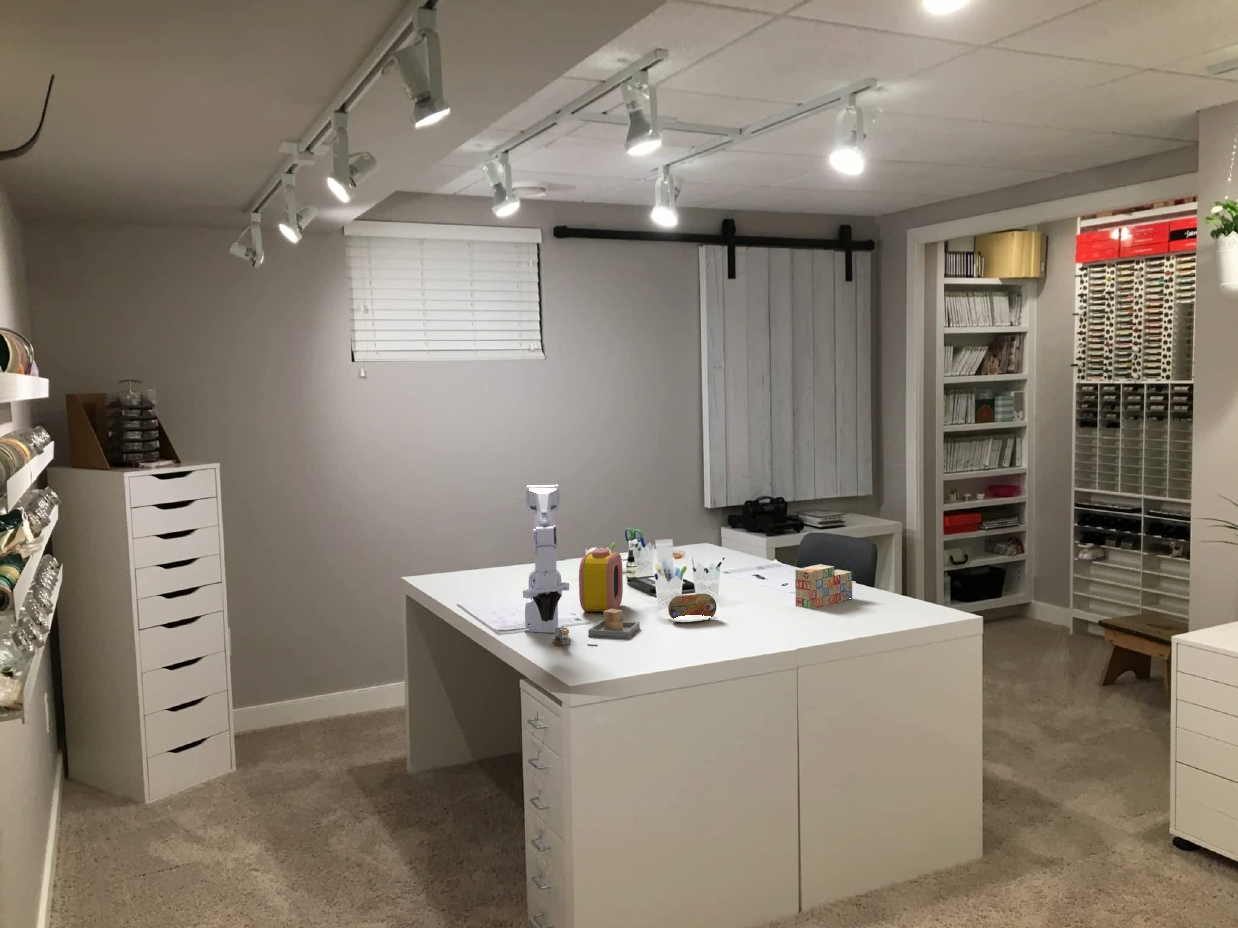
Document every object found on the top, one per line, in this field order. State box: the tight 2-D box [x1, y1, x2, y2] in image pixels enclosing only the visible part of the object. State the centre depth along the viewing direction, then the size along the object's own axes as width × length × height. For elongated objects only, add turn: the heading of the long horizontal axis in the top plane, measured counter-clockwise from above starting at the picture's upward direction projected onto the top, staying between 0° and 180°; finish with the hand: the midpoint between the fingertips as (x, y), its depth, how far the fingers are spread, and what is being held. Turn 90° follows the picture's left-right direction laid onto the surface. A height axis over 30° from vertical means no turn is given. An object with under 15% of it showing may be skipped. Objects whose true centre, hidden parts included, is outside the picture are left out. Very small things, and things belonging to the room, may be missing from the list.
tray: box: [587, 619, 641, 640], centre depth 295 cm, size 12×12×2 cm
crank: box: [554, 626, 570, 645], centre depth 281 cm, size 9×4×4 cm, turn 13°
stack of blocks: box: [794, 563, 853, 610], centre depth 329 cm, size 21×6×12 cm, turn 129°
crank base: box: [552, 637, 598, 647], centre depth 283 cm, size 13×5×1 cm, turn 73°
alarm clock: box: [578, 547, 624, 613], centre depth 325 cm, size 18×11×19 cm, turn 168°
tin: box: [667, 593, 717, 620], centre depth 308 cm, size 15×3×8 cm, turn 106°
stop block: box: [603, 608, 624, 631], centre depth 295 cm, size 4×4×6 cm
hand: (547, 620), depth 273 cm, fingers closed
